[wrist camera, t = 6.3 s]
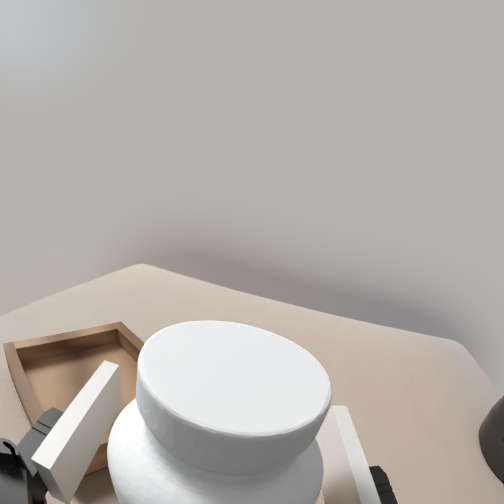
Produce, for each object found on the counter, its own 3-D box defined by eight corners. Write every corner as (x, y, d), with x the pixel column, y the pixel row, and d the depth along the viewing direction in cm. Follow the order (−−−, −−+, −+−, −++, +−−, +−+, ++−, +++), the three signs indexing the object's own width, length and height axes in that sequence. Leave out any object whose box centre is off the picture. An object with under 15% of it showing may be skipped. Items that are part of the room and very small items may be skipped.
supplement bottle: (284, 549, 10) (410, 382, 7) (187, 609, 5) (230, 558, 2) (203, 481, 14) (244, 294, 11) (108, 518, 9) (62, 317, 6)
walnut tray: (120, 343, 26) (121, 321, 26) (204, 419, 20) (208, 395, 19) (8, 368, 17) (3, 343, 16) (62, 483, 10) (51, 461, 10)
